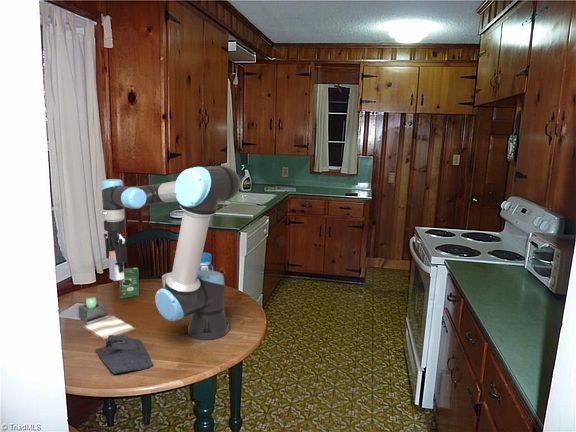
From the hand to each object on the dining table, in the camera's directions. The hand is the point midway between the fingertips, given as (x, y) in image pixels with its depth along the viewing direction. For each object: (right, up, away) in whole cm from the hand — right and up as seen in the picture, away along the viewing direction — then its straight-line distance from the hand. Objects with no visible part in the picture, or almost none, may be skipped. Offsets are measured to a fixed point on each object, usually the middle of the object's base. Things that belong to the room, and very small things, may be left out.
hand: (117, 278), depth 168 cm
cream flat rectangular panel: (0, -18, -7) cm, 19 cm away
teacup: (+14, -11, +34) cm, 38 cm away
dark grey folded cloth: (+13, -23, -27) cm, 38 cm away
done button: (-10, -13, +1) cm, 17 cm away
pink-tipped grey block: (0, 0, 0) cm, 0 cm away
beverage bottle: (+29, -13, +27) cm, 42 cm away
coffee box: (-4, -12, +25) cm, 28 cm away
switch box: (-11, -16, +2) cm, 19 cm away
